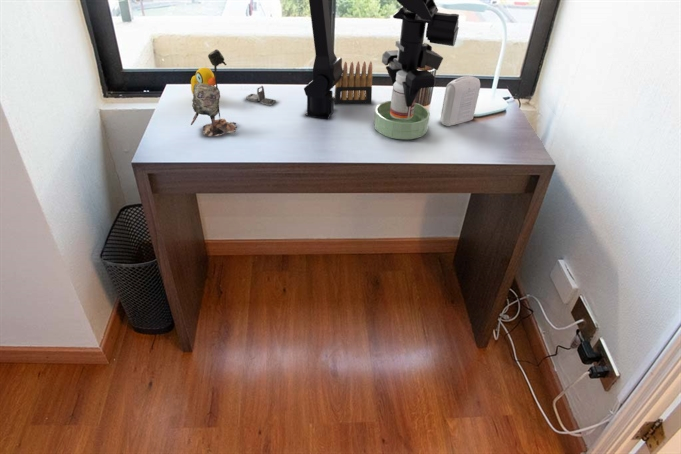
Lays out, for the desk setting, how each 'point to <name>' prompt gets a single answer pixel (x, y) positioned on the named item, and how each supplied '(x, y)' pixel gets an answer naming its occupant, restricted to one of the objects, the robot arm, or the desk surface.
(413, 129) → the bowl
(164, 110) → the desk surface
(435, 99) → the desk surface
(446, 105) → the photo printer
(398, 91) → the pill bottle
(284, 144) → the desk surface
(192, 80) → the duckling
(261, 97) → the strap clip
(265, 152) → the desk surface
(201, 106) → the rough stone-bodied figurine
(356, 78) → the ammunition clip
